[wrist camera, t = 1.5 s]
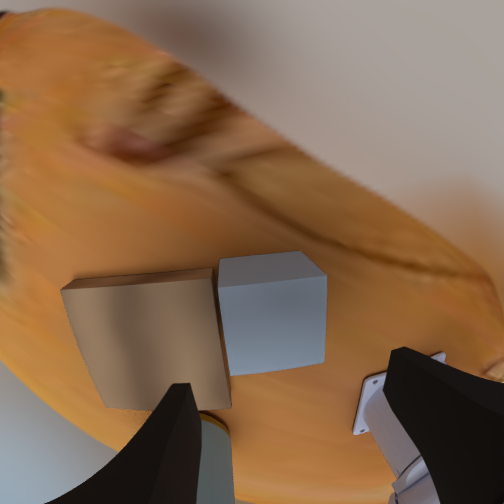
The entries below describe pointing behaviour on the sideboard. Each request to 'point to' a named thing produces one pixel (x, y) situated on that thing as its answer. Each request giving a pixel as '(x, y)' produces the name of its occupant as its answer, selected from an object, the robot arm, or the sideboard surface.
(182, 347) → the base slab
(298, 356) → the cube
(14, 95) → the sideboard surface
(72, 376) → the sideboard surface
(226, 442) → the bottle
